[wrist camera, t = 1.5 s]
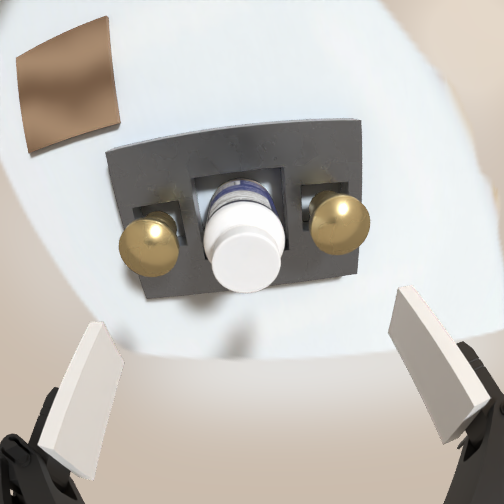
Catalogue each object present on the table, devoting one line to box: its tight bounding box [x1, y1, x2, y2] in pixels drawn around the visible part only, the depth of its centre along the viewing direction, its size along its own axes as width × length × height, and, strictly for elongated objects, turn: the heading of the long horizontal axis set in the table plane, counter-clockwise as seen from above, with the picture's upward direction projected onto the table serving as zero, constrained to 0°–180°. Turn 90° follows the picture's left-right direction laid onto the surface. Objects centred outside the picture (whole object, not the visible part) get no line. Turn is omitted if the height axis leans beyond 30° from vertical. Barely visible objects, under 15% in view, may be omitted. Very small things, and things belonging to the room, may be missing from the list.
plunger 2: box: [309, 190, 370, 255], centre depth 22 cm, size 4×4×4 cm
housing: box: [105, 118, 362, 299], centre depth 25 cm, size 14×20×2 cm
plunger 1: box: [119, 211, 180, 277], centre depth 22 cm, size 4×4×4 cm
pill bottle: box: [204, 178, 285, 293], centre depth 21 cm, size 5×5×10 cm
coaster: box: [16, 16, 121, 153], centre depth 19 cm, size 10×10×1 cm
